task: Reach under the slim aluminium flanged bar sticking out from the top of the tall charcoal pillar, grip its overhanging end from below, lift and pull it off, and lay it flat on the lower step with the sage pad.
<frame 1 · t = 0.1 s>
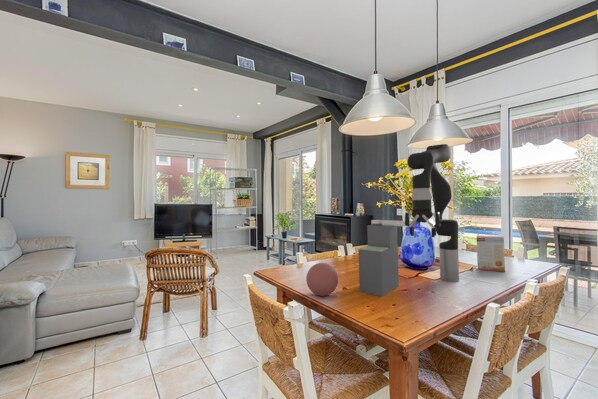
hand: (422, 236, 122), 29 cm above the table, tool pointing down, fingers open, 8 cm apart
cracker box: (490, 270, 175), on the table
mauve oval ball: (321, 293, 139), on the table
flanged bar: (389, 225, 145), point 32 cm above the table, touching stepped shelf
stepped shelf: (379, 288, 144), on the table
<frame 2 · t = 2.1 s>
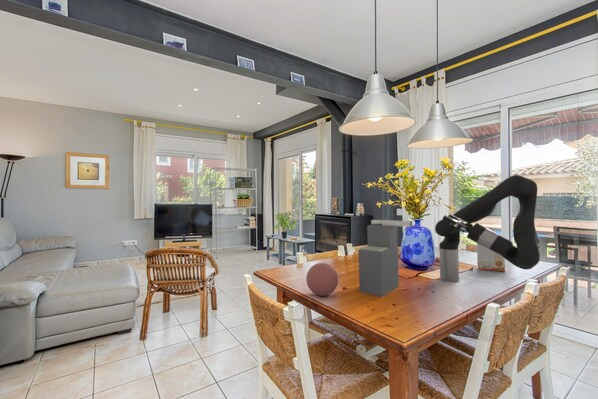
hand: (445, 216, 130), 37 cm above the table, tool pointing upward, fingers open, 8 cm apart
nothing on the table moved.
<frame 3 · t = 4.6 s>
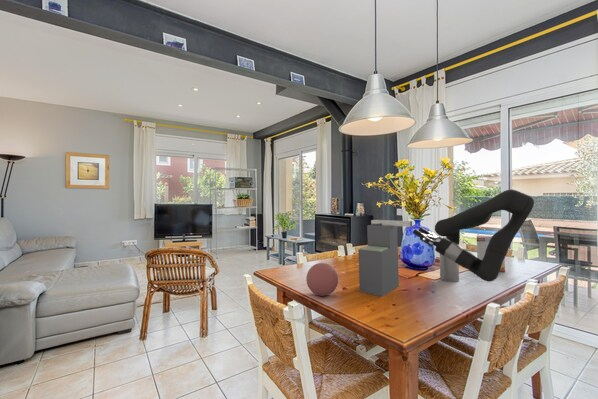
hand: (416, 229, 136), 30 cm above the table, tool pointing upward, fingers open, 8 cm apart
nothing on the table moved.
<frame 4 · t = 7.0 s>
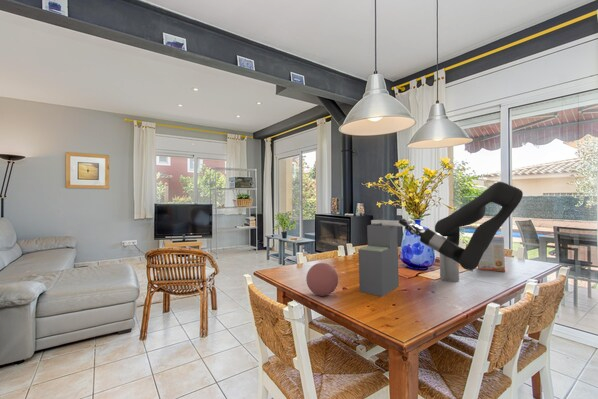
hand: (401, 220, 141), 35 cm above the table, tool pointing upward, fingers closed on flanged bar, 2 cm apart
flanged bar: (389, 225, 145), point 32 cm above the table, touching gripper, stepped shelf
everything else where it was.
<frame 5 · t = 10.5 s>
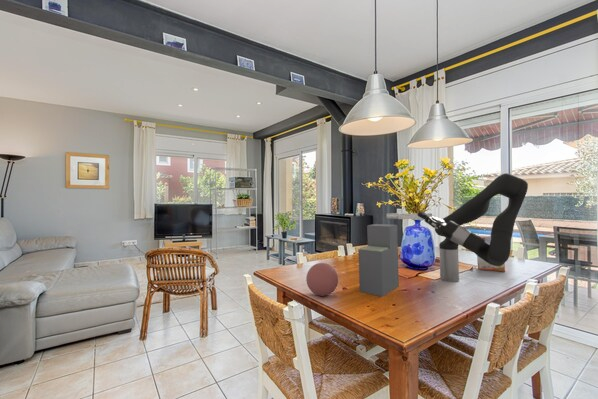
hand: (419, 213, 132), 39 cm above the table, tool pointing upward, fingers closed on flanged bar, 2 cm apart
flanged bar: (406, 218, 135), point 36 cm above the table, touching gripper
everything else where it was.
when the fingers open (26 cm above the table, at t = 14.3 s): flanged bar drops 1 cm, resting on stepped shelf.
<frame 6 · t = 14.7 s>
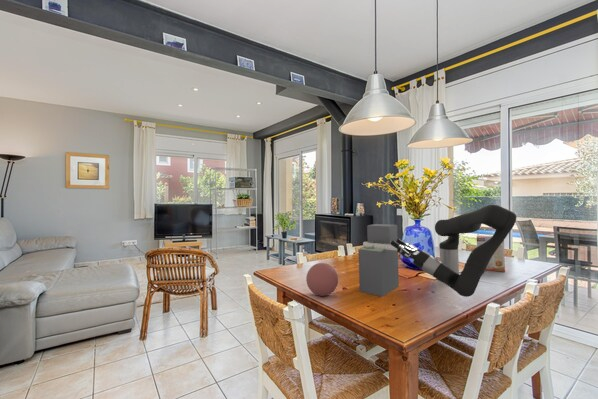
hand: (394, 241, 133), 26 cm above the table, tool pointing upward, fingers open, 6 cm apart
flanged bar: (382, 248, 138), point 22 cm above the table, touching stepped shelf
everything else where it was.
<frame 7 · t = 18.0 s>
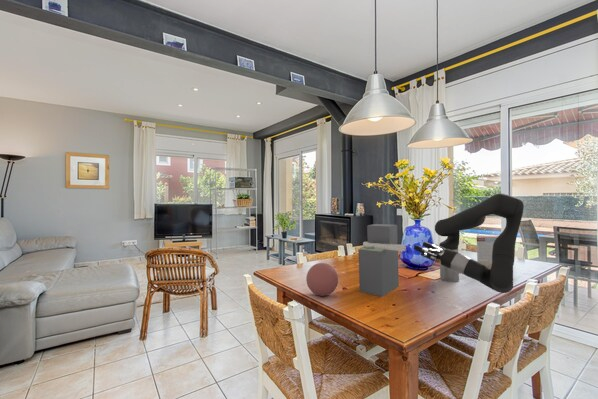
hand: (418, 245, 128), 24 cm above the table, tool pointing upward, fingers open, 8 cm apart
nothing on the table moved.
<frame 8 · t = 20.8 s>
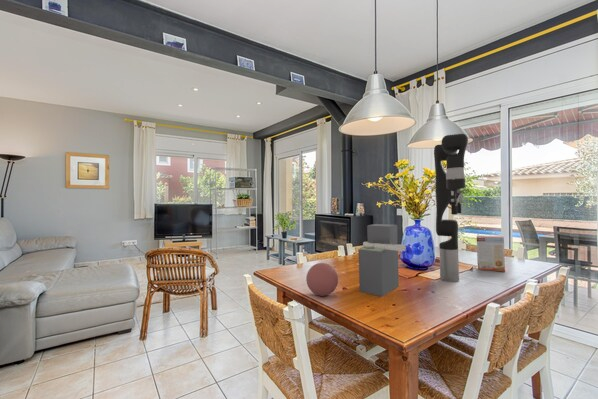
hand: (456, 213, 129), 38 cm above the table, tool pointing down, fingers open, 8 cm apart
nothing on the table moved.
at the end: flanged bar inside the target area (0.2 cm from its centre), point 21.6 cm above the table; the gripper is holding nothing; flanged bar tilted 0° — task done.
